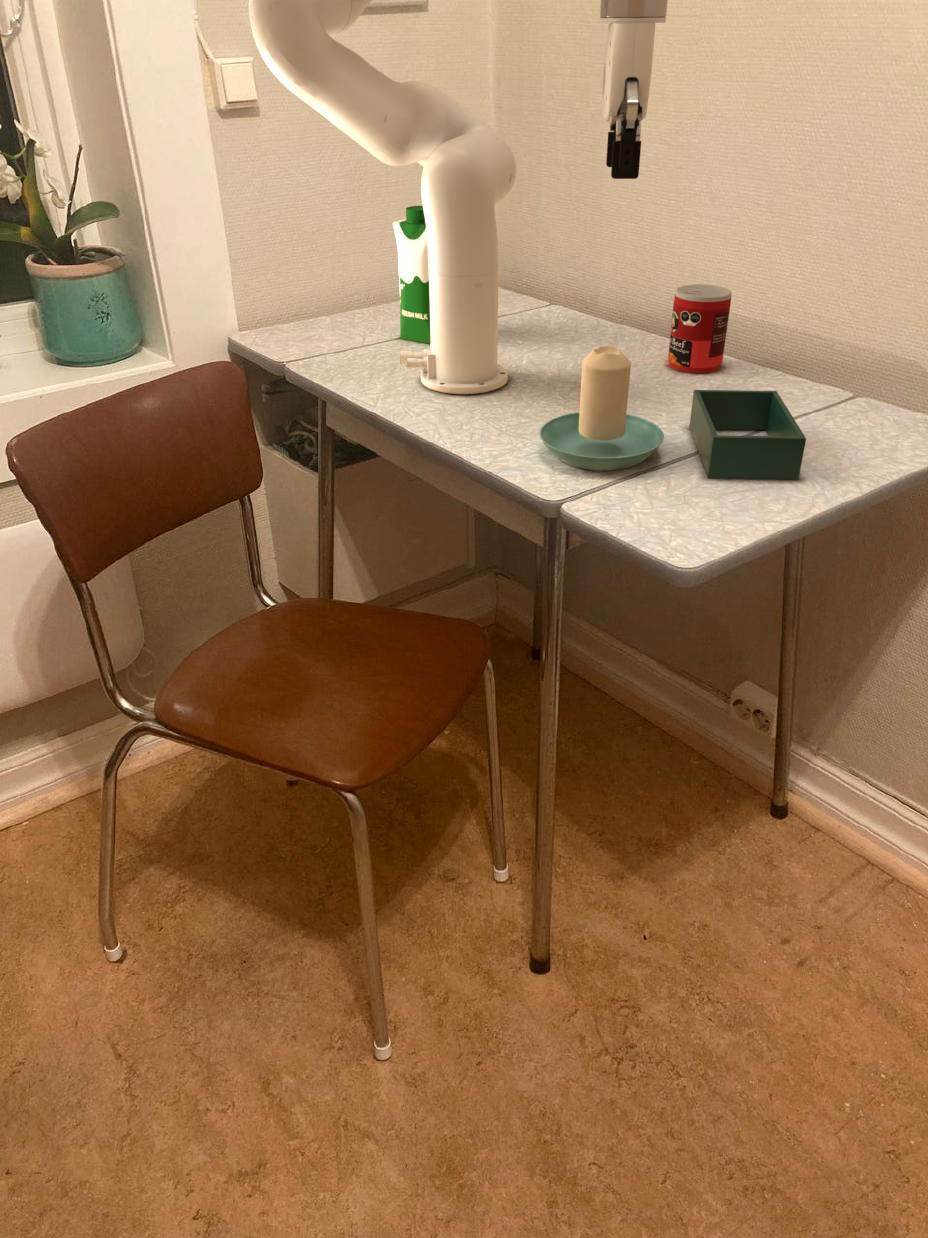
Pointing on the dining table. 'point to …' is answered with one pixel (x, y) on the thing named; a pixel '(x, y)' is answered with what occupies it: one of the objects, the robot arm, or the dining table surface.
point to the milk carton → (413, 275)
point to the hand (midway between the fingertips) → (621, 172)
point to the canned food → (699, 328)
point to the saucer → (601, 443)
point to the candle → (604, 394)
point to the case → (746, 453)
